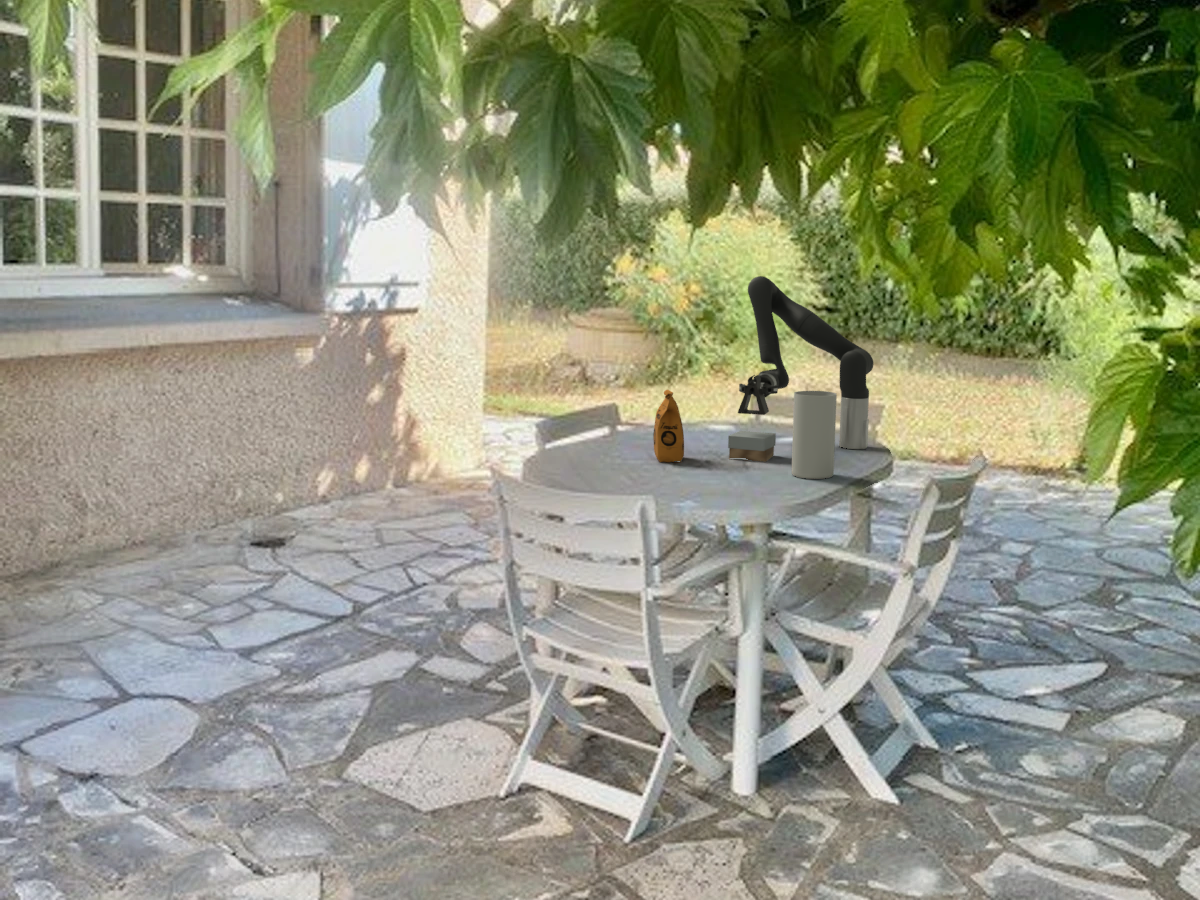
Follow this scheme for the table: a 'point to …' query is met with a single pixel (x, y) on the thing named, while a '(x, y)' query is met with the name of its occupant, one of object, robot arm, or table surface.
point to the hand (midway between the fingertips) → (752, 392)
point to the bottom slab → (752, 454)
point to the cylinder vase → (813, 434)
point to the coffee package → (668, 431)
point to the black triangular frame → (759, 396)
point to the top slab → (751, 440)
